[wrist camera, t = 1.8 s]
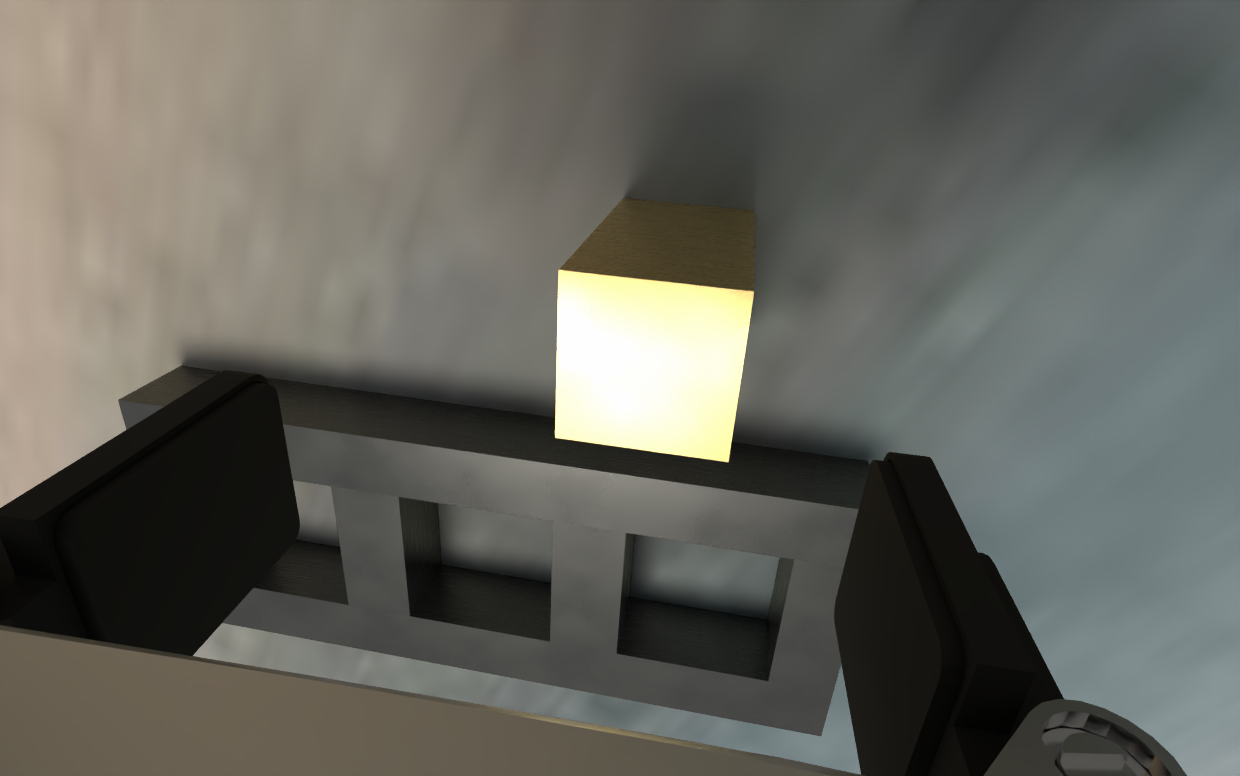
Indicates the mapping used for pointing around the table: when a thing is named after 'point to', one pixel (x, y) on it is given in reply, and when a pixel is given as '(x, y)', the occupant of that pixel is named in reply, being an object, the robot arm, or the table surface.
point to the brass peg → (656, 329)
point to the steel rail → (554, 552)
